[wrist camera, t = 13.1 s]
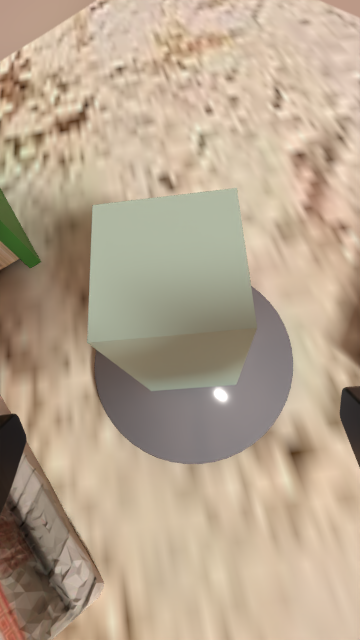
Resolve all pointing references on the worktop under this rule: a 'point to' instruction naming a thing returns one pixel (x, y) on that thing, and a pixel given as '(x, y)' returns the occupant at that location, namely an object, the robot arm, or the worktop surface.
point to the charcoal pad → (204, 401)
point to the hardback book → (13, 238)
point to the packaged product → (40, 559)
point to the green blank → (172, 289)
